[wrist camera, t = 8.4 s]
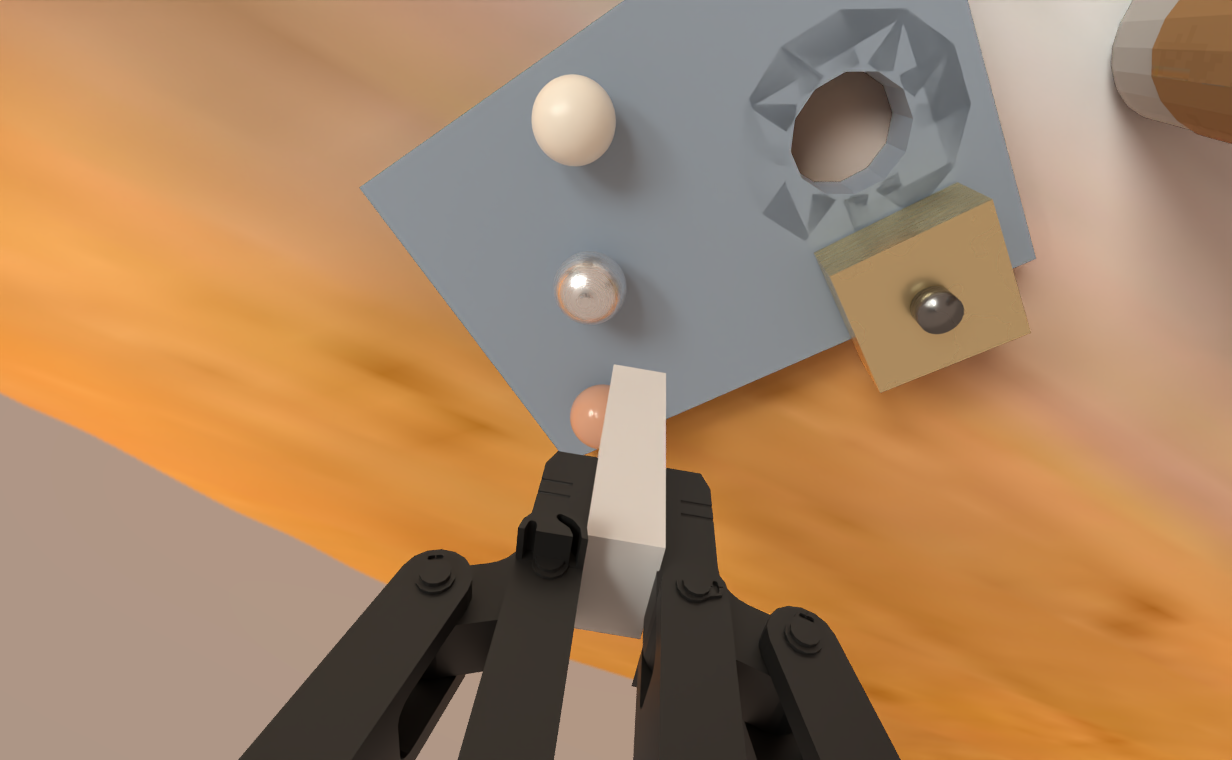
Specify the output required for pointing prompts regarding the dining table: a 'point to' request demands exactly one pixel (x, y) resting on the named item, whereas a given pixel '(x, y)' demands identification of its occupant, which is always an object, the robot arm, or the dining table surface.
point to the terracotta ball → (589, 414)
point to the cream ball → (573, 120)
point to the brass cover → (926, 286)
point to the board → (691, 190)
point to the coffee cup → (1177, 63)
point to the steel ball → (589, 287)
